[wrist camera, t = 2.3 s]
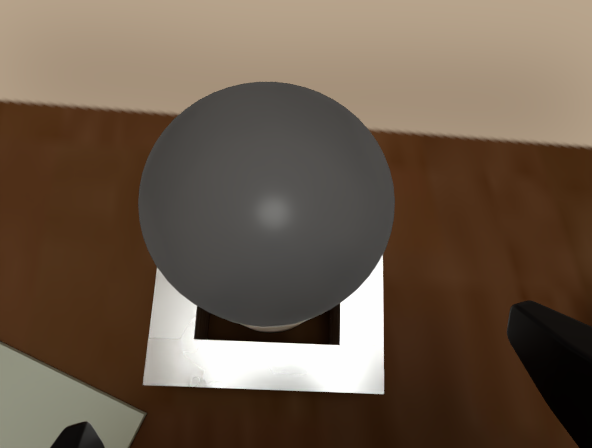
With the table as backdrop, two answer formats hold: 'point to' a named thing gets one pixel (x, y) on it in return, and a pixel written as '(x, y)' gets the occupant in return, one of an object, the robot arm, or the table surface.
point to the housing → (268, 348)
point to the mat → (56, 405)
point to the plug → (266, 204)
